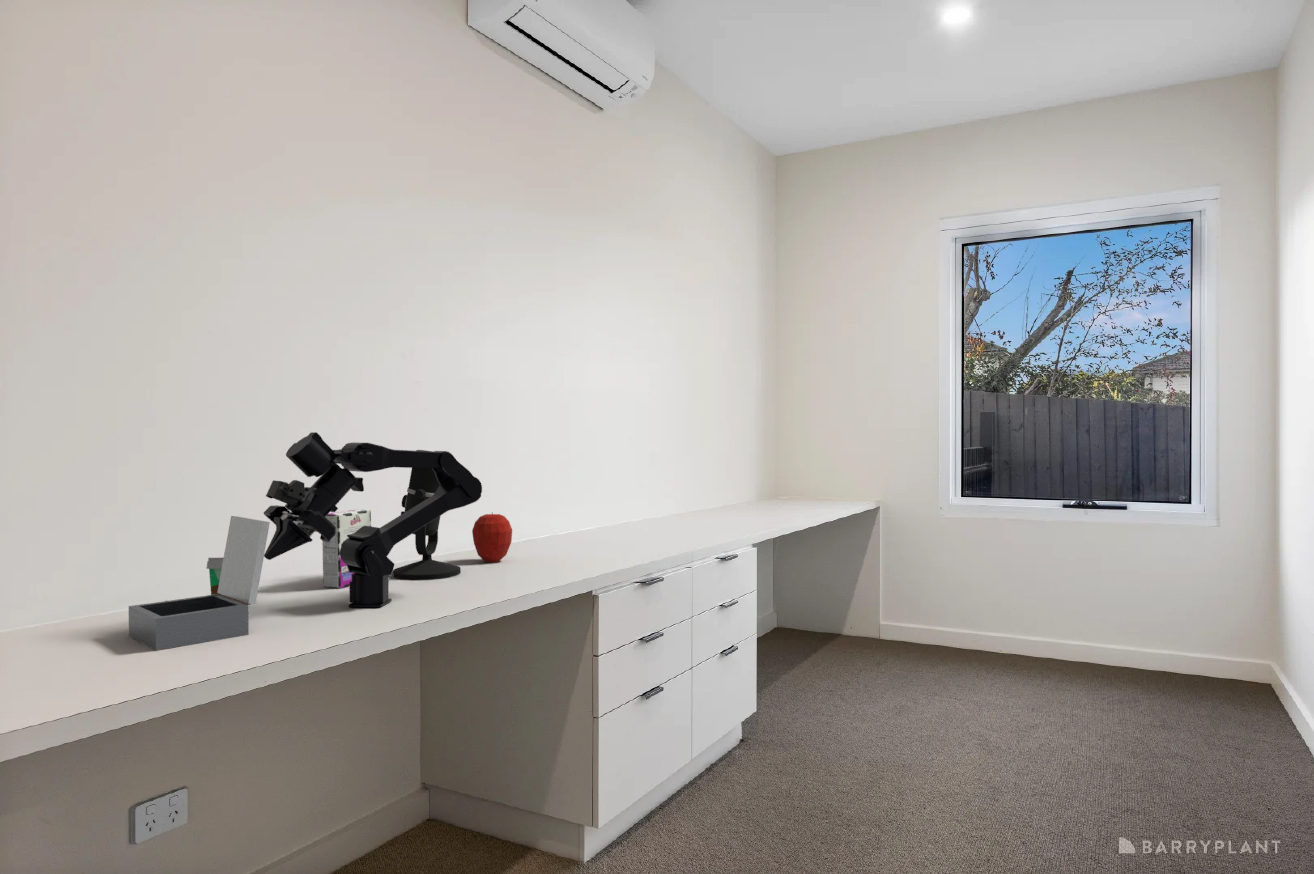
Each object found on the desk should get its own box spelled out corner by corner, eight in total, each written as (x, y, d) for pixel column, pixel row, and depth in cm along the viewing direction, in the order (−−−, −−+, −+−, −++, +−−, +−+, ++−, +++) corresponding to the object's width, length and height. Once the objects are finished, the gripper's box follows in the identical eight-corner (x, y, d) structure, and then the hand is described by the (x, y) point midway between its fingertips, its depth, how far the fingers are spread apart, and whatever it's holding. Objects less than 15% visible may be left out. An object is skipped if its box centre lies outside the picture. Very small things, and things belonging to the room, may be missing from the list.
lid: (217, 592, 149) (234, 593, 151) (248, 603, 140) (266, 604, 142) (231, 515, 151) (247, 517, 153) (262, 521, 142) (280, 523, 144)
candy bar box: (354, 578, 192) (354, 508, 192) (372, 580, 191) (372, 509, 191) (320, 587, 182) (320, 513, 182) (339, 588, 180) (339, 514, 180)
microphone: (405, 568, 207) (405, 449, 207) (467, 568, 206) (467, 449, 206) (382, 579, 191) (382, 450, 191) (450, 580, 191) (449, 450, 190)
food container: (234, 610, 158) (234, 558, 158) (206, 609, 159) (206, 558, 159) (276, 598, 170) (276, 549, 170) (250, 597, 172) (249, 549, 172)
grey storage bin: (217, 621, 149) (217, 593, 149) (248, 634, 140) (248, 604, 140) (128, 635, 139) (128, 606, 139) (155, 650, 130) (155, 618, 130)
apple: (519, 559, 221) (519, 508, 221) (497, 565, 212) (497, 511, 212) (487, 557, 225) (487, 506, 225) (464, 562, 216) (464, 509, 216)
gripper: (274, 463, 159) (213, 525, 151) (318, 466, 146) (254, 533, 138) (314, 501, 165) (257, 563, 157) (360, 507, 152) (301, 574, 144)
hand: (266, 558), depth 149 cm, fingers closed
